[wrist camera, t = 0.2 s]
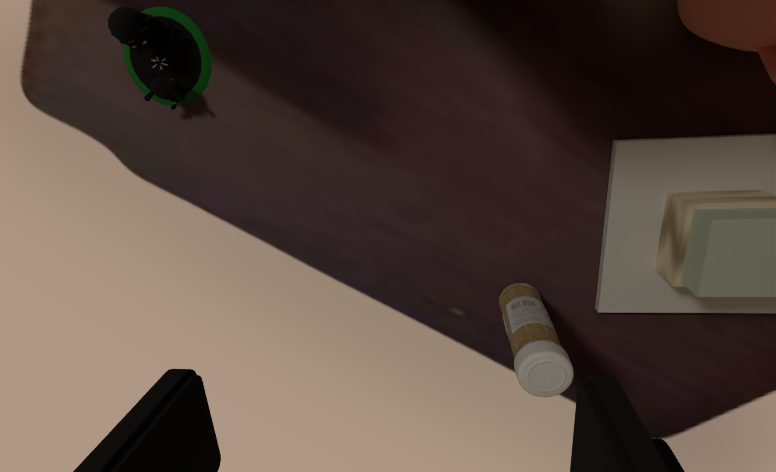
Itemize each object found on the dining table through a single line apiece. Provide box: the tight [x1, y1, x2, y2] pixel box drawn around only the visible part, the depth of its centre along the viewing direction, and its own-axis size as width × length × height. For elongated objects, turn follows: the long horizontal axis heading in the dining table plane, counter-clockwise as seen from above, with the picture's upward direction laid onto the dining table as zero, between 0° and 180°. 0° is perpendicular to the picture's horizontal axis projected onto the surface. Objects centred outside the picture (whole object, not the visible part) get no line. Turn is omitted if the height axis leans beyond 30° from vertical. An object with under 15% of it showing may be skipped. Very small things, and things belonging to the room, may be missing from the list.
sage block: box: [681, 207, 776, 297], centre depth 38 cm, size 7×7×3 cm
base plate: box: [595, 133, 776, 313], centre depth 44 cm, size 18×18×1 cm
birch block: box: [655, 190, 776, 287], centre depth 42 cm, size 8×8×4 cm
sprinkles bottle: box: [499, 283, 574, 397], centre depth 43 cm, size 5×5×14 cm
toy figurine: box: [108, 7, 211, 110], centre depth 42 cm, size 10×10×6 cm
